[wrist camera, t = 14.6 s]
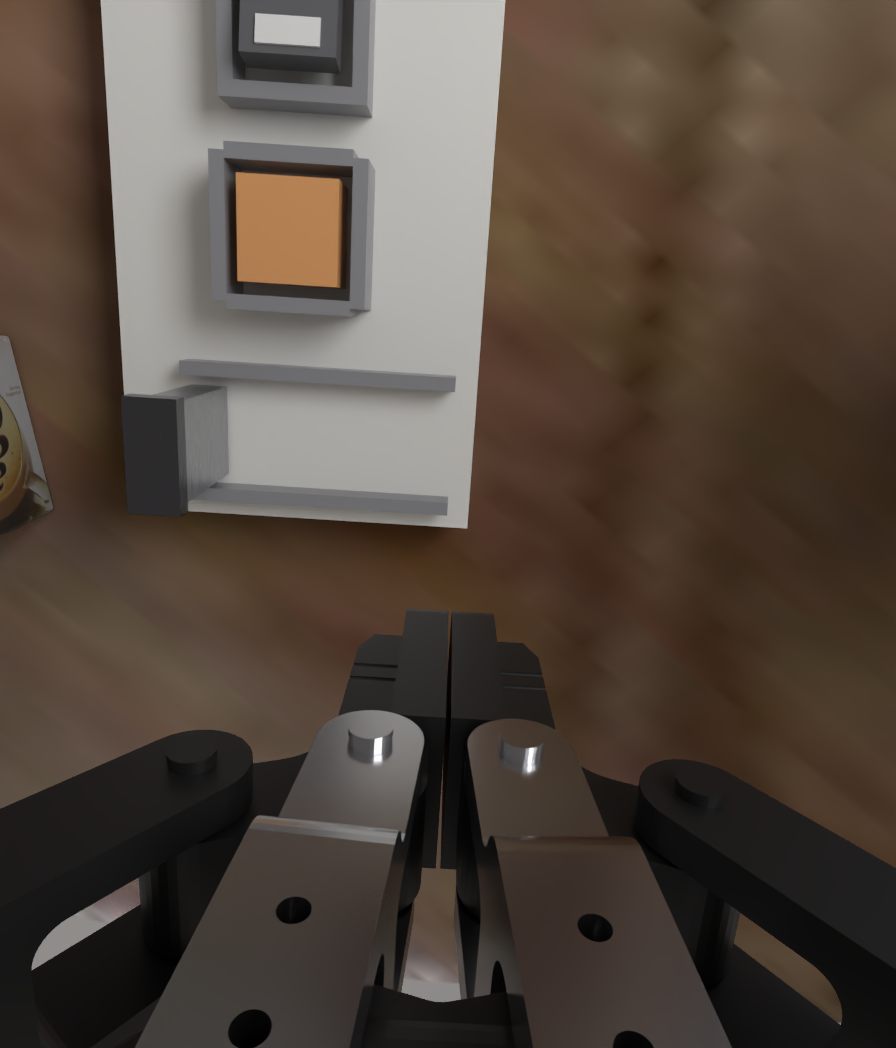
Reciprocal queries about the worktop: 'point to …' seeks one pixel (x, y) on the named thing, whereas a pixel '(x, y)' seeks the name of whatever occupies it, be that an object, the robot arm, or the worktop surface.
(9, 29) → the worktop surface
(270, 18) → the rocker switch
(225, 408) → the slide paddle
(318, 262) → the push button
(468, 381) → the control panel
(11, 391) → the coffee box
